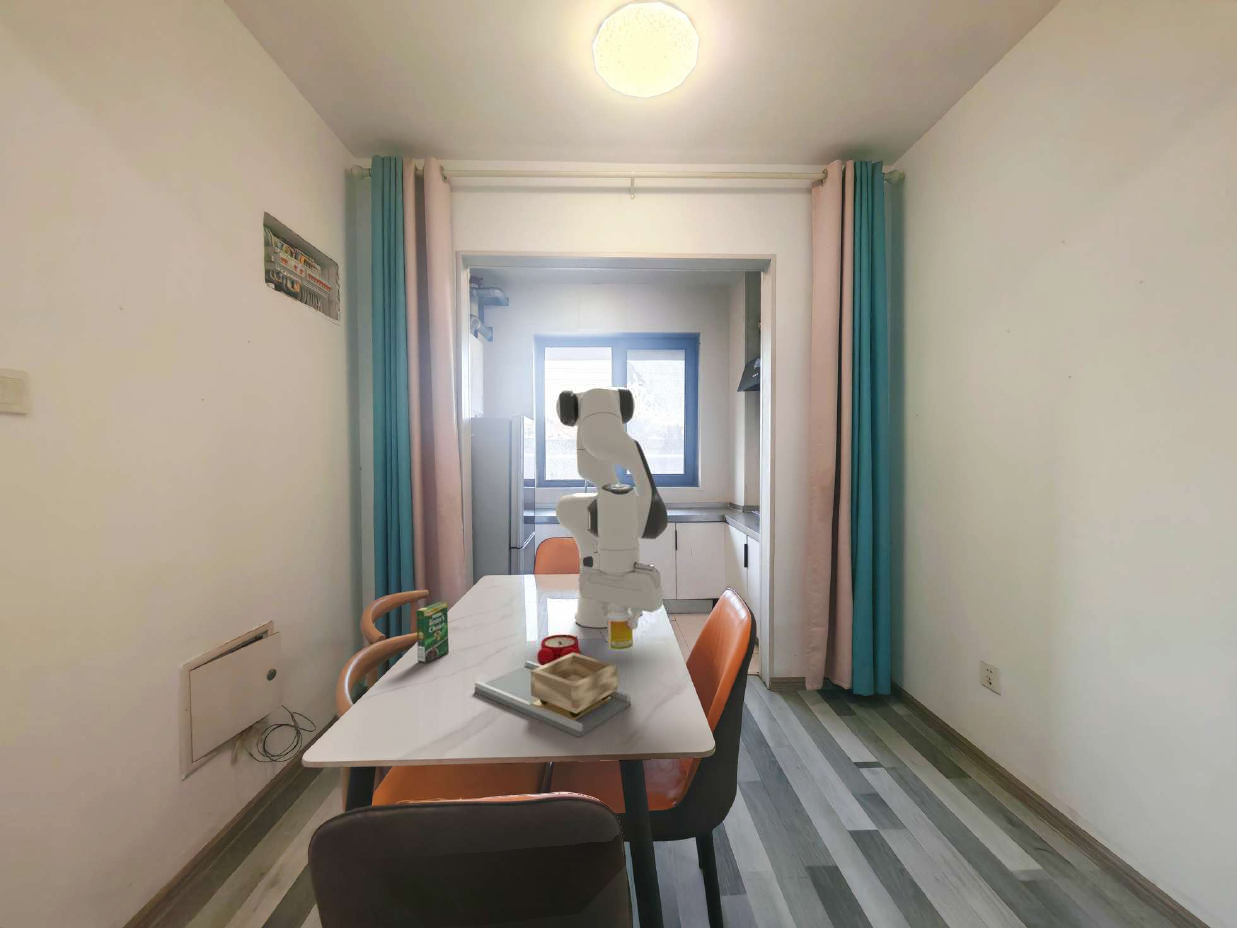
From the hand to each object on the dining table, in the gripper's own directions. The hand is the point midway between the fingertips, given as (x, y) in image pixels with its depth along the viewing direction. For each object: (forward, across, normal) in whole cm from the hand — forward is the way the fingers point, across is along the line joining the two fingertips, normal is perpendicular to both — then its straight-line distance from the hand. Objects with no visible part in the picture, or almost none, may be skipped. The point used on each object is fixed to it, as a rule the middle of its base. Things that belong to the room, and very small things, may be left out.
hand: (619, 624), depth 108 cm
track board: (+13, +9, +12) cm, 20 cm away
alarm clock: (+14, +22, -4) cm, 27 cm away
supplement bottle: (+5, 0, 0) cm, 5 cm away
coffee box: (+14, +48, +14) cm, 52 cm away
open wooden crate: (+12, +2, +12) cm, 17 cm away
